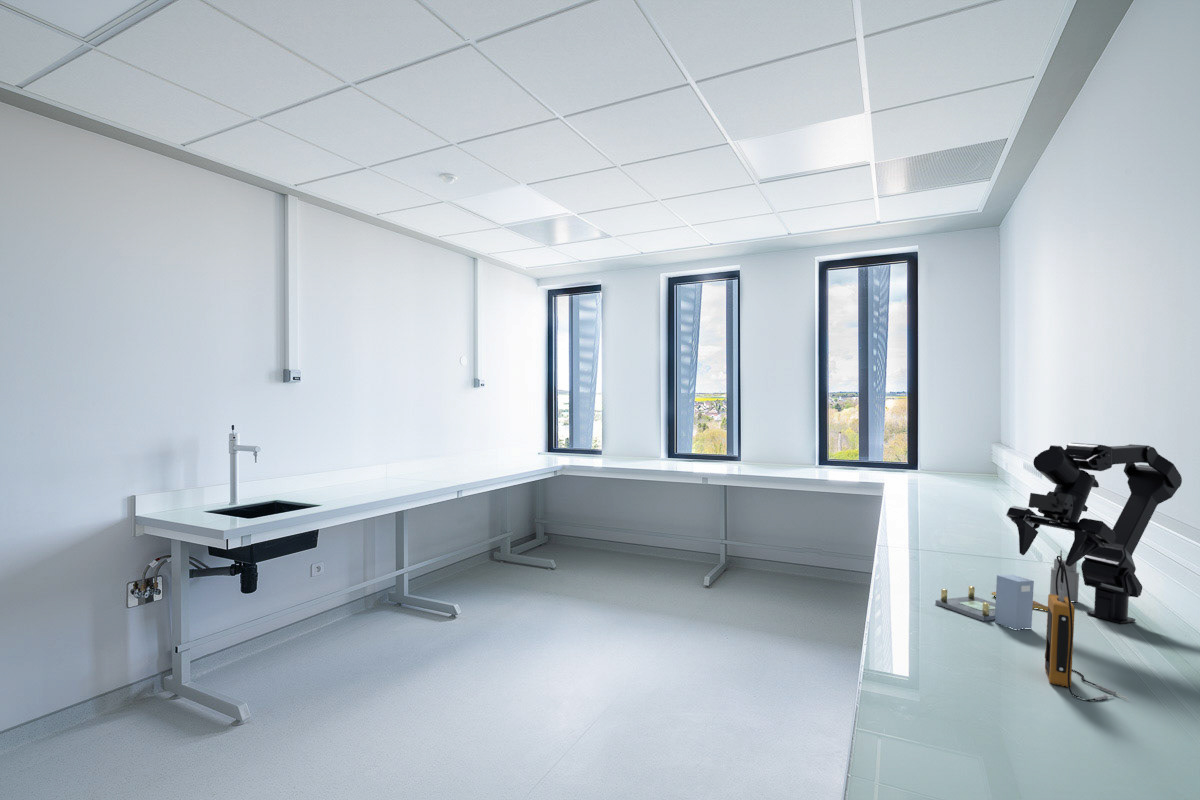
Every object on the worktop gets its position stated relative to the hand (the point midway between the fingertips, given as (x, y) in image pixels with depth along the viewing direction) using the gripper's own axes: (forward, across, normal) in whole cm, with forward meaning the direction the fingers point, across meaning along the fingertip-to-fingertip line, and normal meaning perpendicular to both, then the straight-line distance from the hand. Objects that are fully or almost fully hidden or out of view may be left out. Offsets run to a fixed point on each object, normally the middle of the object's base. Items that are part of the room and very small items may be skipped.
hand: (1043, 559), depth 124 cm
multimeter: (+24, +22, -14) cm, 35 cm away
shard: (+7, -12, +18) cm, 23 cm away
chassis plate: (+15, -10, +2) cm, 18 cm away
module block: (+16, -1, 0) cm, 16 cm away
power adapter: (-1, -12, +31) cm, 33 cm away
